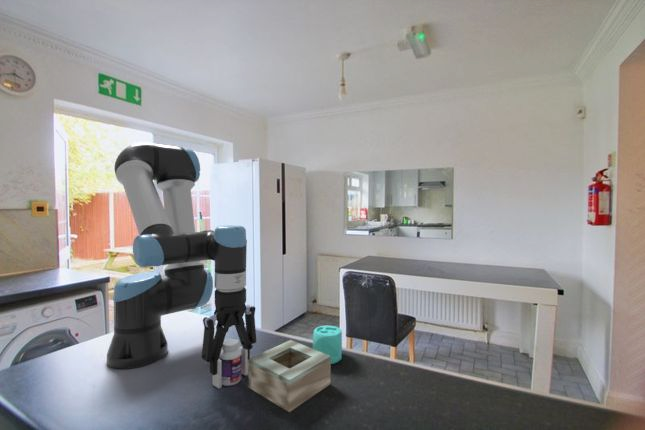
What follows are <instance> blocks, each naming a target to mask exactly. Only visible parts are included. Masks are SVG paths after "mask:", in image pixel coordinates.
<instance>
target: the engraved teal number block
mask: <svg viewBox="0 0 645 430" xmlns="http://www.w3.org/2000/svg"><path fill="white" fill-rule="evenodd" d="M312 335H313V337H312V349H314V350H317V351H319V352H322V353H324V354H327V355H329V356H331V365H333V364H336V363H339V362H340V361H341V360H342V358H343V357H342V356H343V354H342V353H343V344H342V343H343V341H342V340H343V336H342V335H343V331H342V329H341V328H340V327H339V326H334V325H327V324H326V325H320V326H317V327H316V328H314V330H313V334H312Z"/></svg>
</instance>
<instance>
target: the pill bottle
mask: <svg viewBox="0 0 645 430" xmlns="http://www.w3.org/2000/svg"><path fill="white" fill-rule="evenodd" d="M239 347H240V340H239V339H236V338H228V339H224V342H223V346H222V349H221V353H220V356H219V359H220V360H222V386H228V387H229V386H233V385H234V386H235V385H237V384H239V383H240V381H242V375H243V374H242V352H241V349H239Z"/></svg>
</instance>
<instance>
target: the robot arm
mask: <svg viewBox="0 0 645 430" xmlns="http://www.w3.org/2000/svg"><path fill="white" fill-rule="evenodd" d="M114 162H115V163H114V173H115V177H116V180H117V182H118V183H120V184H121V185H122V186H123V189H124V192H125V195H126V198H127V202H128V205H129V208H130V210H131V213H132V217H133V220H134V223H135V227H136V229H137V232H138V235H136V237H134V239H133V242H132V253H133V260H134V262H135V265H137V266H138V267H141V268H142V267H143V268H144V267H146V268H147V267H149V268H150V267H160V266H165V265H166V267H165V269H164V275H162V274H161V273H160V272H158V271H144V272H138V273H135V274H130V275H127V276H125V277H122V278H121V279H119V280H118V281H117V282H116V283H115V284H114V287H113V296H112V301H113V335H112V339H111V341H110V343H109V347H108V349H107V353H106V365H107V366H108V367H110V368H112V369H119V370H120V369H121V370H123V369H126V370H127V369H135V368H139V367H144V366H147V365H149V364H152V363H155V362H156V361H159V360H161V359H162V358H163V357H165V355H166V354H168V352H169V351H168V350H169V349H168V340H167V338H166V335H165V333H164V330H163V328H162V321H161V320H162V316H165V315H170V314H171V315H172V314H174V313H179V312H183V311H184V312H185V311H187V310H188V311H189V310H194V309H197V308H201V307H203V306H206V305H207V304H208V303H209V302H210V299H211V297H212V294H213V292H214V307H215V310H214V311H213V312H214V313H213V314H212V315H211V316H209V317H204V318H202V323H203V327H204V329H203V339H202V340H203V341H202V346H201V347H202V348H201V349H202V350H201V359H202V360H204V361H205V362H207V363H209V373H210V375H212V385H213V386H214V387H215V388H218V390H219V389H221V388H222V386H223V385H222V360H220V359H219V356H220V353H221V351H222V350H223V349H222V346H223V342H224V341H225V340H226V339H225V338H226V335H227V333H229V330H230V328H231V327H233V326H234V327H235V331H236V332H237V336H238V338H239V339H238V340H239V343H240V344H241V346H239V347H238V348H239V349H241V352H242V375H244V376H247V375H249V358H251V352H250V351H251V350H252V349H253V348H254V347H253V346H254V345H253V344H256V343H257V329H256V322H255V321H256V320H255V314H256V313H255V312H256V307H255V306H254V305H250V304H246V303H247V288H246V286H247V246H248V245H247V244H248V240H247V229H246V228H245V227H244V226H242V225H218V226H216V227H215V229H214V230H212V229H210V230H209V229H208V230H207V229H206V230H201V231H196V227H195V226H196V225H195V218H194V207H193V199H192V192H191V191H192V189H193V188H194V187H195V186H196V184H195V183H196V182H198V181H199V178H200V175H201V173H200V172H201V163H200V159H199V158H198V155H197V154H196V152H195V151H193V150H192V149H191V148H186V147H182V146H179V145H178V146H173V145H166V144H165V145H164V144H157V143H150V142H137V143H134V144H131V145H129V146H127V147H125V148H124V149H122V151H121V152H119V154H118V155H117V158H116V160H115V161H114ZM154 181H156V185H155V183H154ZM156 187H157V188H156ZM158 189H159V190H161V192H162V196H163V197H162V199H163V202H162V200H161V197H160V196H159V193H158ZM209 260H210V261H214V280H213V276H212V273H211V271H210V270H208V269H205V266H204V265H205V264H204V263H203V262H202V261H209ZM213 289H215V290H214V291H213ZM243 316H244V318H243ZM216 321H217V323H216ZM215 326H216V327H215ZM215 329H216V331H215Z"/></svg>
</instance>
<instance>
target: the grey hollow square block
mask: <svg viewBox="0 0 645 430" xmlns="http://www.w3.org/2000/svg"><path fill="white" fill-rule="evenodd" d="M331 365H332V364H331V356H329V355H327V354H324V353H322V352H319V351H317V350H314V349H313V347H309V346H307V345H304V344H302V343H299V342H297V341H294V340H292V339H290V340H287V341H285V342H283V343H281V344H279V345H277V346H275V347H271V348H270V349H267V350H265V351H263V352H260V353H259V354H256V355H254V356H252V357H250V358H249V360H248V388H249V389H250V390H252V392H255V393H256V394H258V395H260V396H262V397H263V398H265V399H267V400H268V401H270V402H271V403H273V404H275V405H276V406H278V407H279V408H281V409H283V410H284V411H286V412H287V413H291V412H292V411H294V410H296V409H297V408H298V407H299V406H301V405H303V404H304V403H305V402H306V401H308V400H310V399H311V398H312V397H314V396H315V395H316V394H318V393H320V392H321V391H323V390H324V389H325V388H327V387H329V386H330V385H331V374H332V373H331V371H332V370H331V369H332V368H331V367H332V366H331Z"/></svg>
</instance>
